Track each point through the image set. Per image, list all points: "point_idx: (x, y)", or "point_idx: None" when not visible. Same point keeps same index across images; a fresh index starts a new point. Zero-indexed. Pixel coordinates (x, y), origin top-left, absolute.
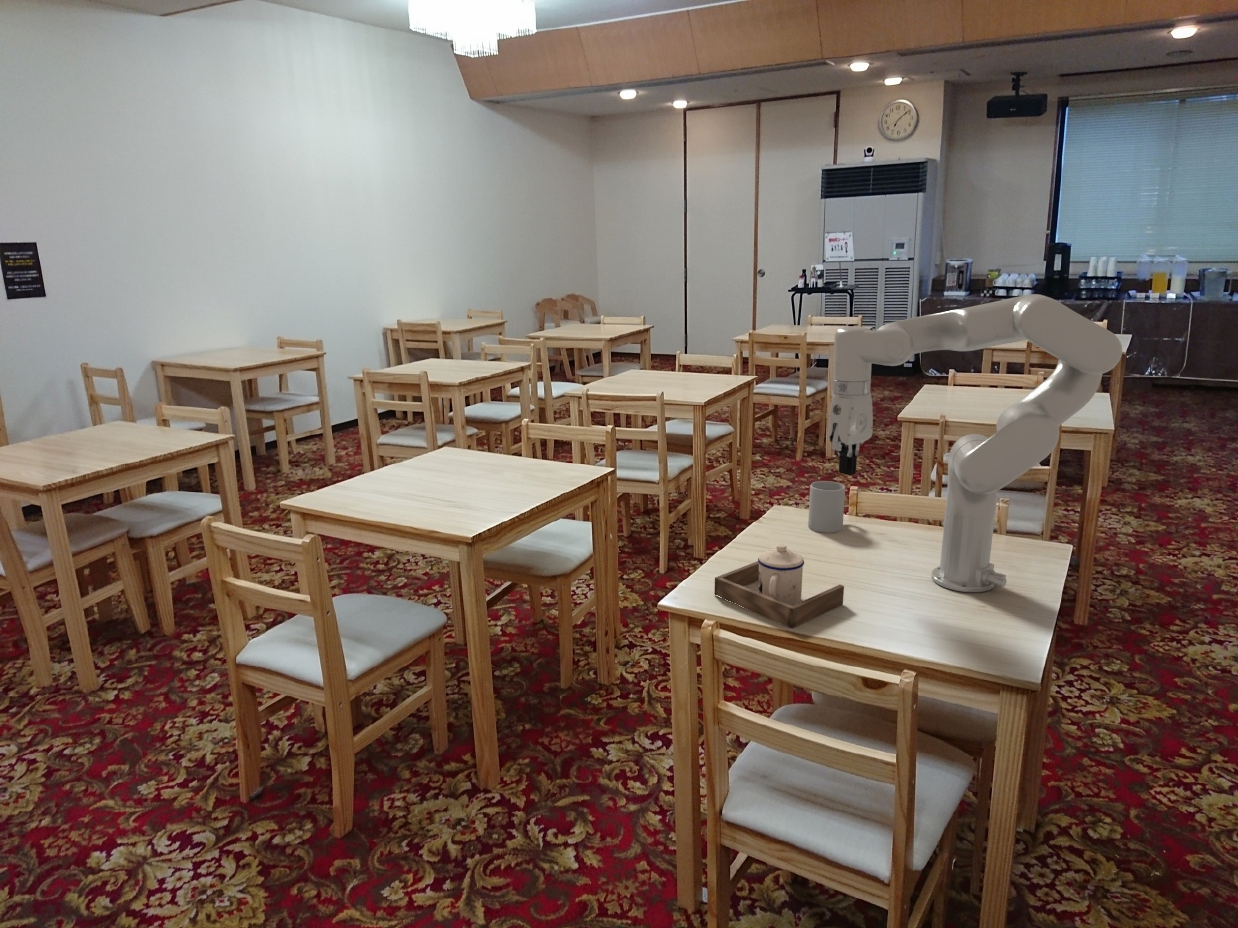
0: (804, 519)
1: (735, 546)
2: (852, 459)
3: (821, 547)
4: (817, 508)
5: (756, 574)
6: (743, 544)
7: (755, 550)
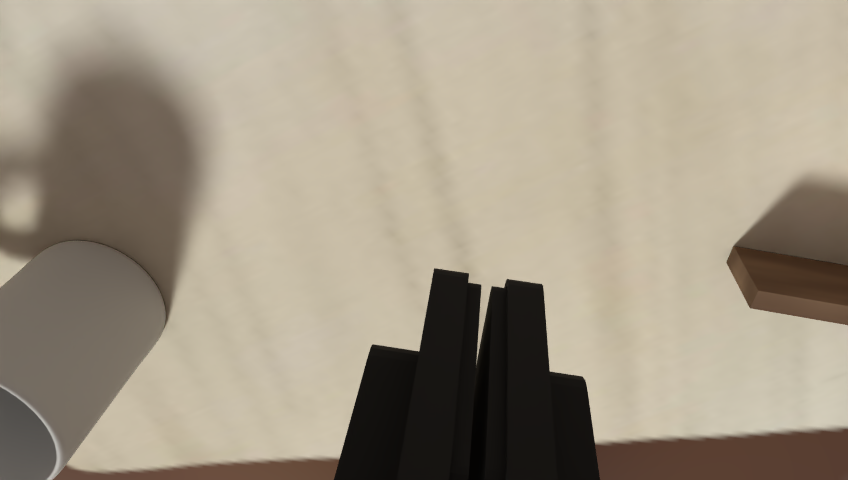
0: None
1: None
2: (556, 467)
3: (296, 222)
4: (114, 373)
5: (828, 278)
6: None
7: None
